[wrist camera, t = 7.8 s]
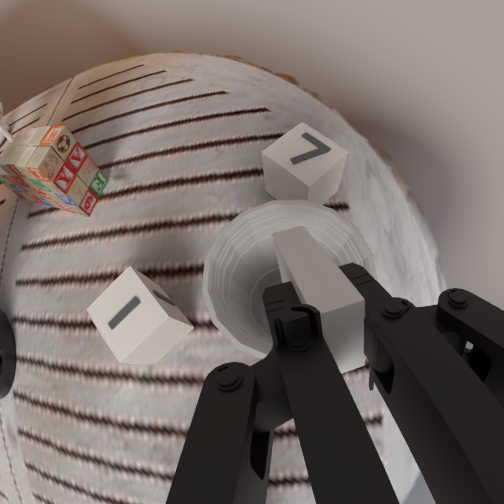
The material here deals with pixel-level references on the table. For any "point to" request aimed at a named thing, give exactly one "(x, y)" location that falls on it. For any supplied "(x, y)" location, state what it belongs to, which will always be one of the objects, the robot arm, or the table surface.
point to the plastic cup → (268, 265)
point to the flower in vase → (0, 136)
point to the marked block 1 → (138, 319)
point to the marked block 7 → (303, 166)
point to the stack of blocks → (52, 170)
